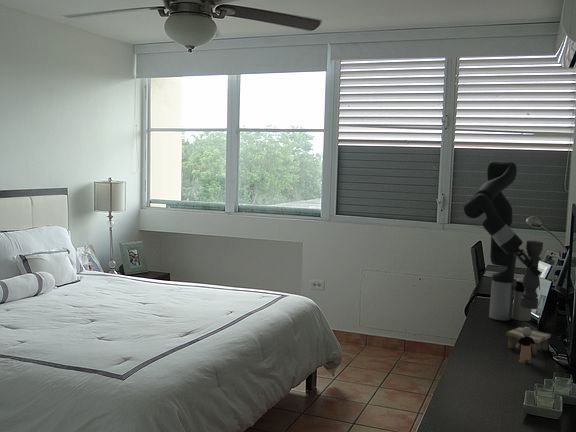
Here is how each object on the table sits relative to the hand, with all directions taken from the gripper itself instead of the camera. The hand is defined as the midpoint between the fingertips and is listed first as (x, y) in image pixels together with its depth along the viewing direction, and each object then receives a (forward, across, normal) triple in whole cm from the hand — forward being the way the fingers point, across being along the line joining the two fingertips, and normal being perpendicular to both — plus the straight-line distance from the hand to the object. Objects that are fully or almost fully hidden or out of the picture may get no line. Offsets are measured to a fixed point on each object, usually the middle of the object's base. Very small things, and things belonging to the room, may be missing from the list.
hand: (537, 273), depth 228 cm
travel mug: (+22, +48, +19) cm, 56 cm away
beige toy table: (+20, 0, +21) cm, 29 cm away
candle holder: (+8, 0, +11) cm, 13 cm away
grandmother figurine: (+18, -18, +24) cm, 35 cm away
